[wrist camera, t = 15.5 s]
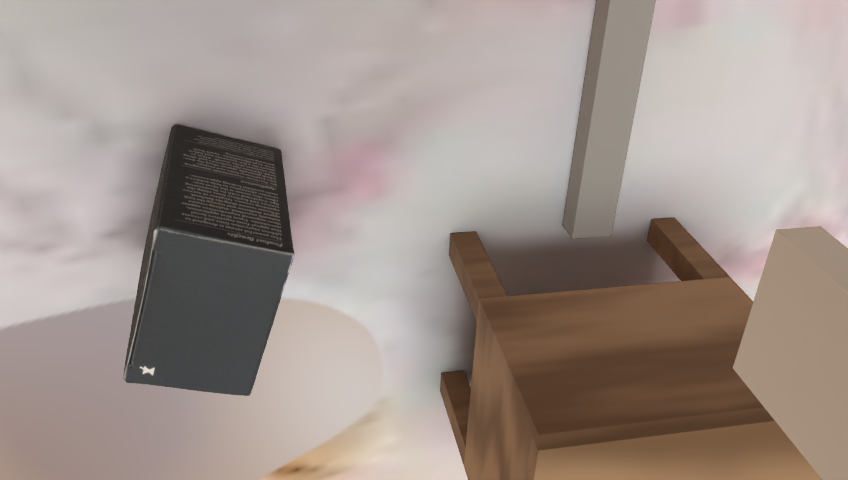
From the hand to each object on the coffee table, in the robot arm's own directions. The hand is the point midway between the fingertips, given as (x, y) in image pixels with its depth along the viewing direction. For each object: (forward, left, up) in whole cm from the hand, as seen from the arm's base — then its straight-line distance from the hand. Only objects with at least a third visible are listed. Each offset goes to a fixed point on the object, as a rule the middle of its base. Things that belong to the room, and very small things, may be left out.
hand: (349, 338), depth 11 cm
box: (+13, -4, -29) cm, 32 cm away
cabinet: (+22, +16, -29) cm, 40 cm away
